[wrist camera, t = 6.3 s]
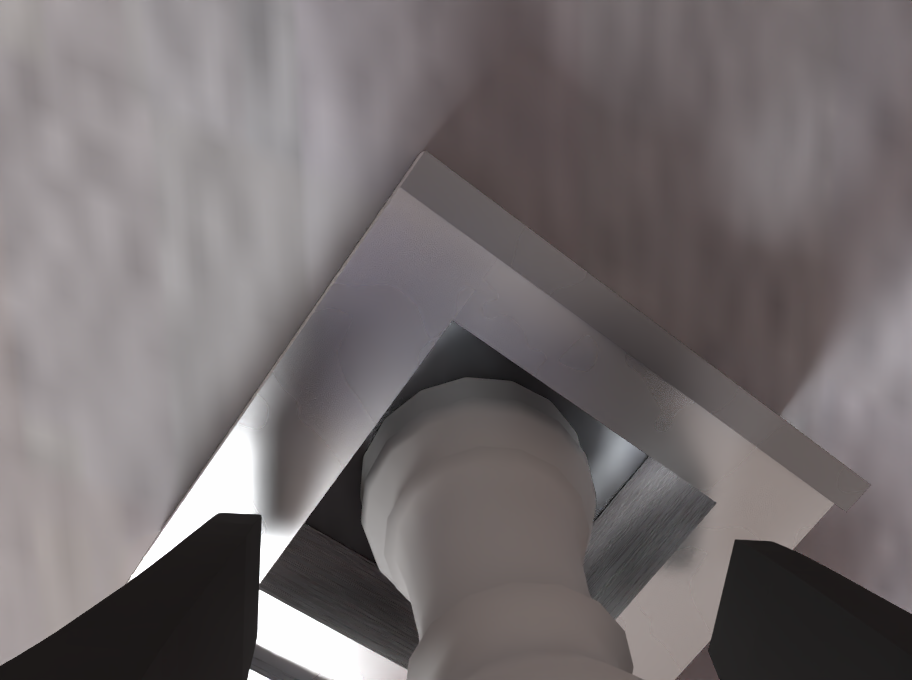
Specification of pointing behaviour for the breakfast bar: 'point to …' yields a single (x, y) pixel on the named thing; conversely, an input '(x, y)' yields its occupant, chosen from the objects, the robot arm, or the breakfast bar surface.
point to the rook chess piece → (489, 536)
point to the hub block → (549, 360)
